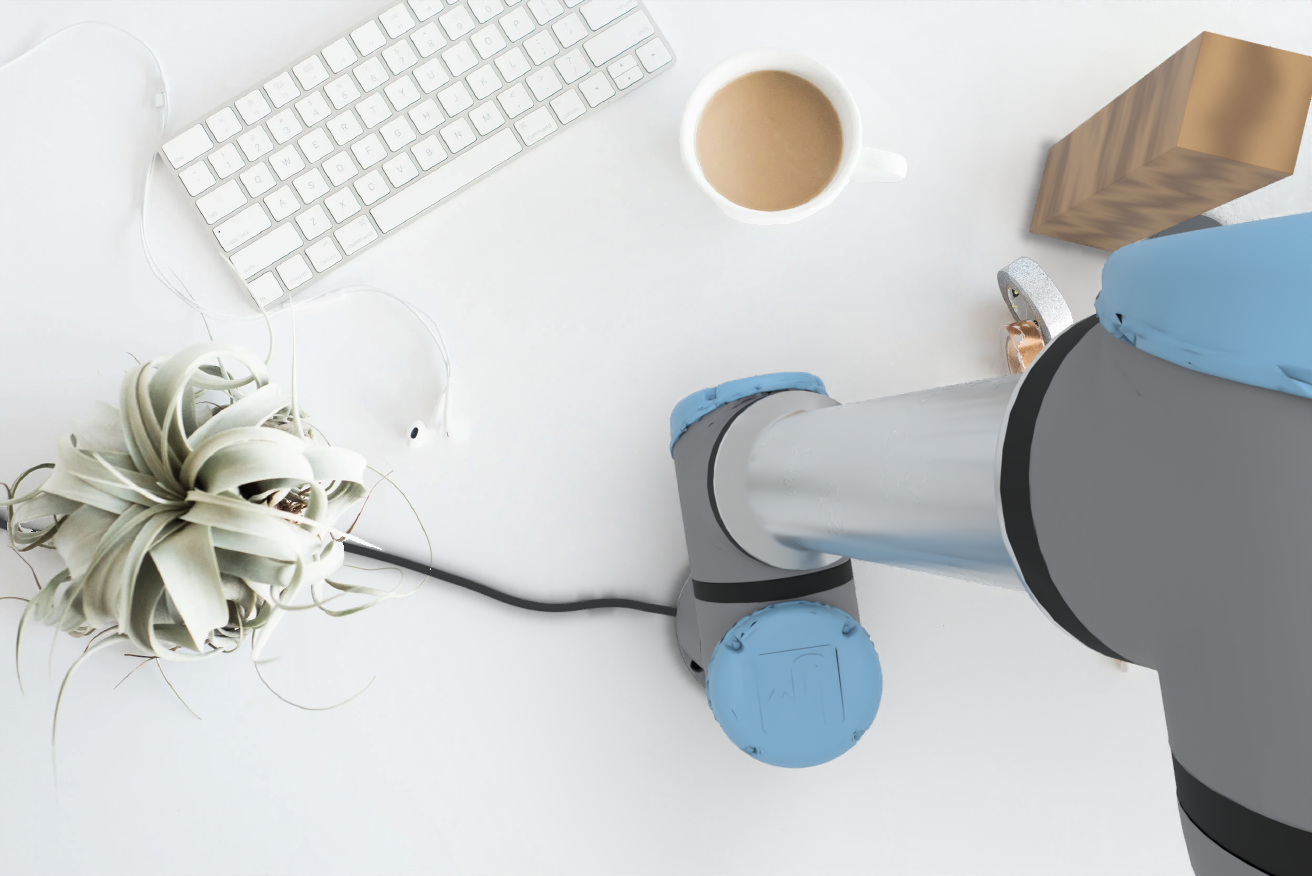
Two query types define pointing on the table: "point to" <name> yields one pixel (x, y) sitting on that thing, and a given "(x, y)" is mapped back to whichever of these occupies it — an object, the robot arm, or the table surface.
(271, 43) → the table surface
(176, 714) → the table surface
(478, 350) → the table surface
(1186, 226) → the coaster
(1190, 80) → the block
